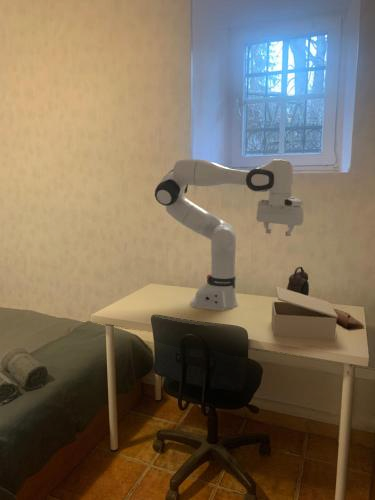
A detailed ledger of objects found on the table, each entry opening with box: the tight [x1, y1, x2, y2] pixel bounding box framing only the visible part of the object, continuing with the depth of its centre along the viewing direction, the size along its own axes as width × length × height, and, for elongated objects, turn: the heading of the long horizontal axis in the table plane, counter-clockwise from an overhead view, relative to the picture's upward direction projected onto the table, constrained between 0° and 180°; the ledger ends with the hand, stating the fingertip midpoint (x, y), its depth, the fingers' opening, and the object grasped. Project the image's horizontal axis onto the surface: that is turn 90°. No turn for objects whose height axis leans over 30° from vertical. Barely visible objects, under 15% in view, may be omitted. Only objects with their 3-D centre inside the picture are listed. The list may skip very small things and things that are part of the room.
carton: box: [271, 300, 337, 342], centre depth 149 cm, size 22×16×10 cm
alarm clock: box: [286, 266, 310, 296], centre depth 176 cm, size 15×7×20 cm, turn 144°
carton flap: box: [274, 286, 338, 318], centre depth 147 cm, size 22×16×1 cm
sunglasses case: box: [332, 307, 365, 330], centre depth 161 cm, size 18×7×7 cm
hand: (277, 234), depth 156 cm, fingers open, 8 cm apart
